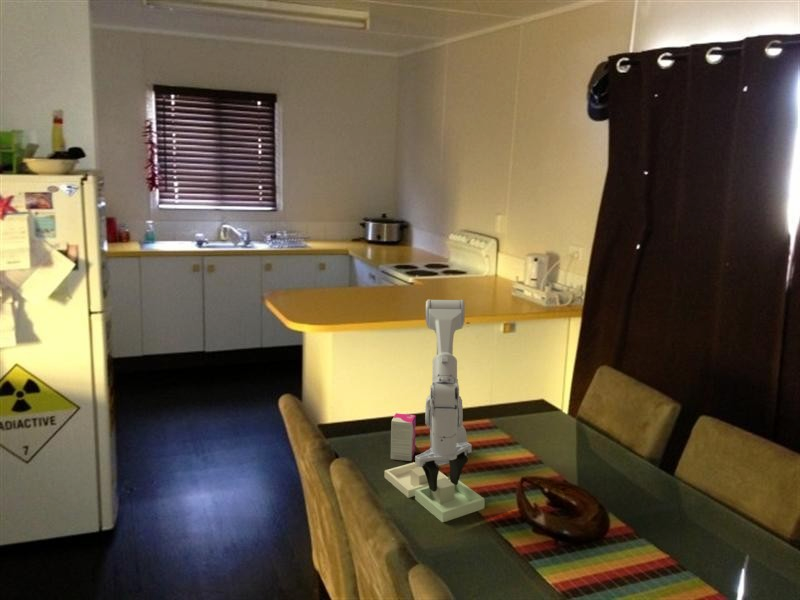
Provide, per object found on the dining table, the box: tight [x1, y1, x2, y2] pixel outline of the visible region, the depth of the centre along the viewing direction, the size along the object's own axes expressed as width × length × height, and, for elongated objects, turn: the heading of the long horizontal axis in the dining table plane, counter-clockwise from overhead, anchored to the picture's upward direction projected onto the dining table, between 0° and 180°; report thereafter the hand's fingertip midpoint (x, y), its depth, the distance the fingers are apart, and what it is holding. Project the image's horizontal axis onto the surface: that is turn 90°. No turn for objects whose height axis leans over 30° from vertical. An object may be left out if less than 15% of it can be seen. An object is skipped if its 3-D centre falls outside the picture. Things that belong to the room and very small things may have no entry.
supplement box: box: [390, 413, 417, 462], centre depth 183 cm, size 6×6×12 cm
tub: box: [414, 479, 485, 523], centre depth 160 cm, size 12×12×3 cm
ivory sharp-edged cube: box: [411, 466, 428, 487], centre depth 168 cm, size 4×4×4 cm
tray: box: [384, 461, 450, 499], centre depth 170 cm, size 12×12×2 cm
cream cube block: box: [431, 478, 454, 504], centre depth 162 cm, size 4×4×4 cm
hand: (443, 486), depth 161 cm, fingers open, 5 cm apart
